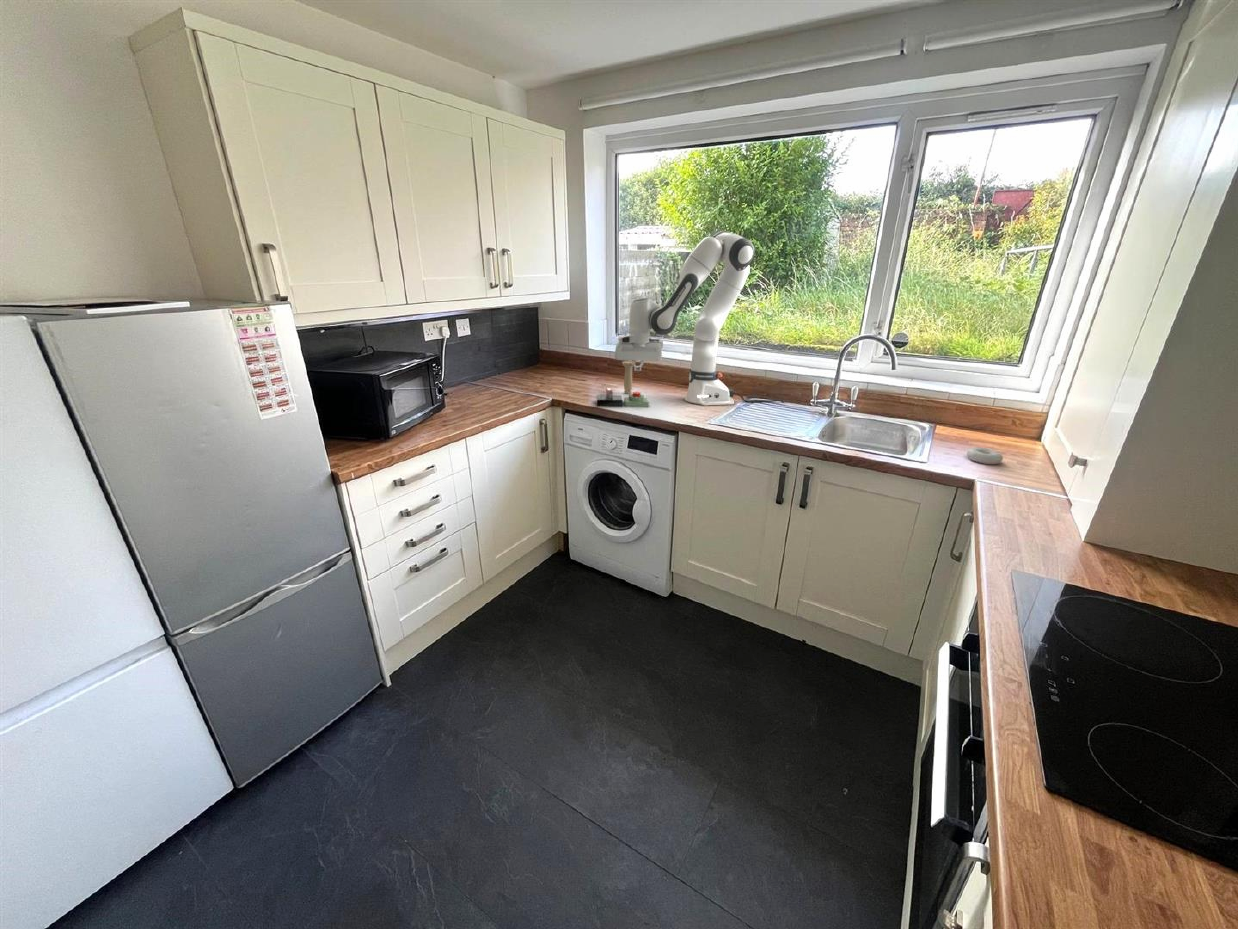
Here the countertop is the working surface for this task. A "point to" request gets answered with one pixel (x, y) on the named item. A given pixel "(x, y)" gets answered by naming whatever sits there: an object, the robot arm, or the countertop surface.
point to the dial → (609, 393)
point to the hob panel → (609, 401)
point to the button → (636, 394)
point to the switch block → (635, 401)
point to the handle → (628, 376)
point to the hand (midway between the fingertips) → (637, 370)
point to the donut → (984, 455)
